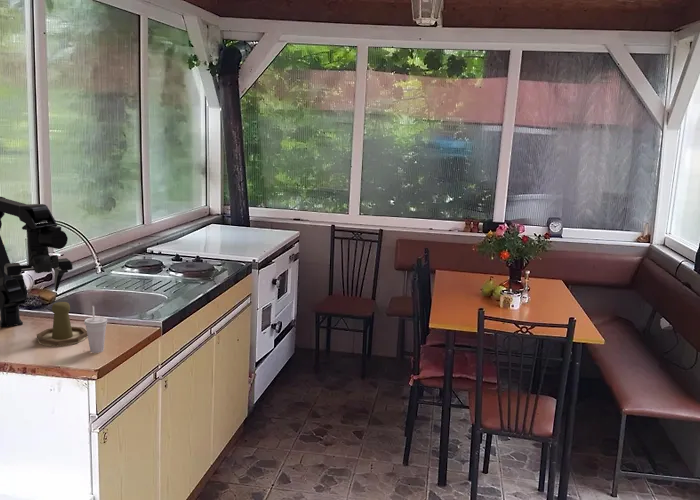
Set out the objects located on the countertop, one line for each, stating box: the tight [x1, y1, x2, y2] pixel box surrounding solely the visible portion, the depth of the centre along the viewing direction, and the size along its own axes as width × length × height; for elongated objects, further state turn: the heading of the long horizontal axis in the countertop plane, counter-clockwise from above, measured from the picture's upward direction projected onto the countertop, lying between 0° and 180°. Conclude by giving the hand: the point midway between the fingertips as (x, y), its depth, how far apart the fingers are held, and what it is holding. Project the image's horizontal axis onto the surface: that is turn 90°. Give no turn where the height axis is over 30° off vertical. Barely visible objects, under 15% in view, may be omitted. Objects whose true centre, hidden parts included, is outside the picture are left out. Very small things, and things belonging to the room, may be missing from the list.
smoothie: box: [83, 305, 108, 354], centre depth 191 cm, size 6×6×14 cm
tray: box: [36, 325, 88, 347], centre depth 201 cm, size 14×14×2 cm
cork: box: [51, 301, 73, 340], centre depth 200 cm, size 6×6×11 cm
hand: (40, 293), depth 203 cm, fingers open, 9 cm apart
